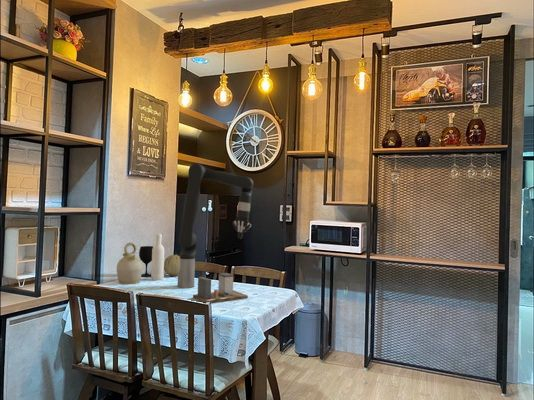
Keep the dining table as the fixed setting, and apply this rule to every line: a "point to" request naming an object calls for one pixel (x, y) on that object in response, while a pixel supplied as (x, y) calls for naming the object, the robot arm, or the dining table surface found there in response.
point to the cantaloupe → (172, 265)
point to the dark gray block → (204, 288)
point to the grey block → (225, 284)
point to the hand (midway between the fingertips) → (239, 238)
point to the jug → (129, 267)
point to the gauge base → (222, 297)
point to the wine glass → (146, 257)
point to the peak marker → (215, 293)
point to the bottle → (158, 259)
